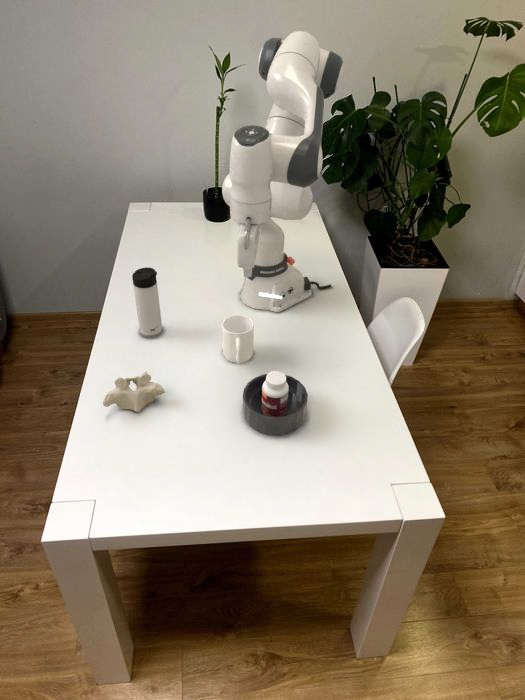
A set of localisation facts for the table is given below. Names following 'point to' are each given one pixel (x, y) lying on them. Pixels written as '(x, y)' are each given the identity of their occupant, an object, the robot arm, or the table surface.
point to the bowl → (274, 424)
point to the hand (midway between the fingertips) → (250, 264)
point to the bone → (133, 393)
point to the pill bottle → (275, 394)
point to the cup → (237, 338)
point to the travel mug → (147, 302)
